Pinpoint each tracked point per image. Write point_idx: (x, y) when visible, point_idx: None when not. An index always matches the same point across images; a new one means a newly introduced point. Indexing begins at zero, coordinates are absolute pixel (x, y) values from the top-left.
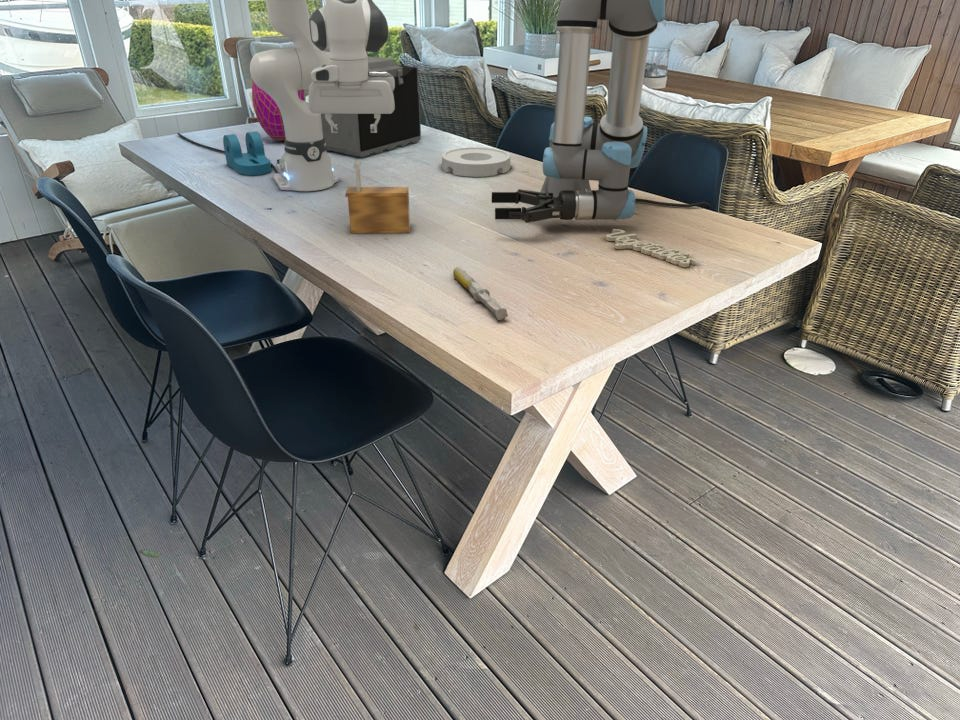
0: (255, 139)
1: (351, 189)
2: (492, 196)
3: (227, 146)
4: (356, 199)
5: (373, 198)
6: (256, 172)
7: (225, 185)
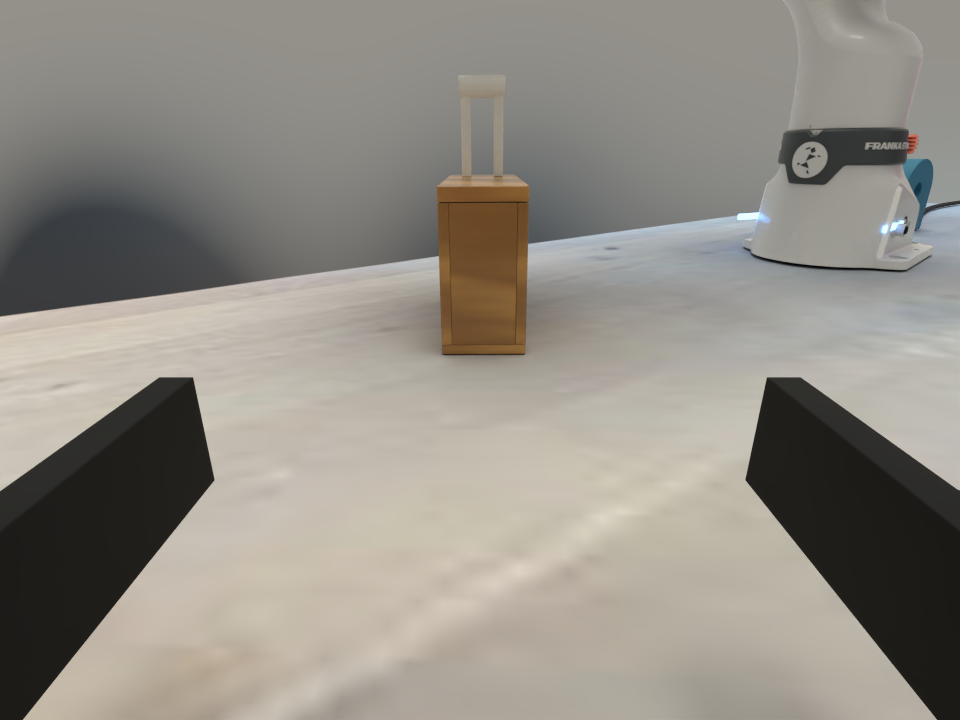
0: None
1: (488, 175)
2: (760, 418)
3: None
4: None
5: None
6: None
7: (727, 228)
